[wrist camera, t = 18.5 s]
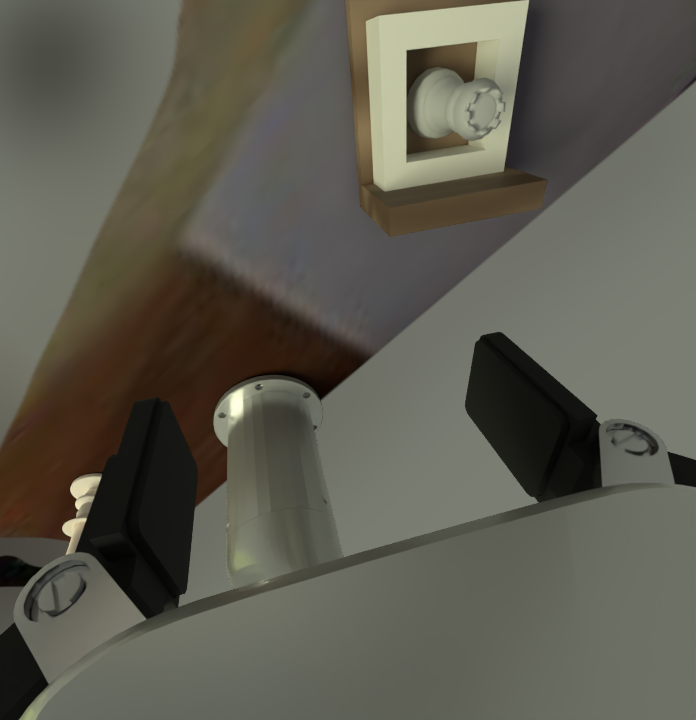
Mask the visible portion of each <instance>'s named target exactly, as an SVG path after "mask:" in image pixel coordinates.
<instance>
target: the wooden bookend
mask: <svg viewBox="0 0 696 720" xmlns="http://www.w3.org/2000/svg"><path fill="white" fill-rule="evenodd" d="M513 1H516V0H345V2H346V16H347V29H348V43H349V57H350V71H351V85H352V98H353V112H354V126H355V140H356V154H357V167H358V181H359V195H360V207H361V208H362V209H363V210H364V211H365V212H366V213H367V214H368V215H369V216H370V217H371V218H372V219H373V220H374V221H375V222H376V223H377V224H378V225H379V226H380V227H381V228H382V229H383V230H384V231H385V232H386V233H387V234H388V235H389V236H390V237H392V236H397V235H402V234H408V233H413V232H418V231H424V230H429V229H434V228H440V227H445V226H450V225H456V224H461V223H466V222H472V221H477V220H482V219H488V218H493V217H498V216H504V215H509V214H514V213H520V212H525V211H530V210H536V209H541V207H542V202H543V198H544V193H545V188H546V184H547V180H546V179H543V178H540V177H537V176H534V175H531V174H528V173H525V172H522V171H518V170H515V169H512V168H509V167H506V166H504V171H502V172H497V173H491V174H485V175H479V176H473V177H467V178H461V179H456V180H450V181H444V182H438V183H432V184H426V185H420V186H415V187H409V188H403V189H397V190H391V191H383V190H382V189H381V188H379V187H378V186H377V185H375V184H374V180H373V159H372V139H371V119H370V98H369V78H368V58H367V38H366V21H368V20H370V19H372V18H375V17H377V16H382V15H391V14H400V13H410V12H419V11H429V10H438V9H447V8H457V7H466V6H475V5H485V4H494V3H504V2H513ZM476 53H477V42H474V43H465V44H457V45H449V46H440V47H432V48H424V49H415V50H407V51H406V102H407V98H408V94H409V90H410V88H411V87H412V85H413V83H414V82H415V80H416V78H417V77H418V76H420V75H421V74H422V73H423V72H425V71H426V70H427V69H431V68H435V67H441V68H446V69H450V70H453V71H455V72H456V73H457V74H458V76H459V77H460V78H461V79H462V80H463V81H464V83H468V82H472V81H473V80H474V75H475V64H476ZM468 141H469V140H466V139H463V138H462V137H461V136H460V135H459V134H458V133H455V132H454V131H452V132H450V133H449V134H448V135H446V136H444V137H440V138H436V139H433V138H426V137H421V136H419V135H418V134H417V133H416V132H415V131H413V130H412V128H411V126H410V124H409V121H408V119H407V111H406V154H412V153H419V152H425V151H431V150H437V149H444V148H450V147H456V146H463V145H468Z"/></svg>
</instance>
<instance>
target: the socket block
mask: <svg viewBox="0 0 696 720" xmlns="http://www.w3.org/2000/svg"><path fill="white" fill-rule="evenodd" d="M528 4H529V0H522V1H513V2H504V3H494V4H485V5H475V6H466V7H457V8H447V9H438V10H429V11H419V12H410V13H400V14H391V15H382V16H377V17H375V18H372V19H370V20H368V21H366V38H367V58H368V78H369V98H370V119H371V139H372V159H373V180H374V184H375V185H377V186H378V187H379V188H381V189H382V190H383V191H391V190H397V189H403V188H409V187H415V186H420V185H426V184H432V183H438V182H444V181H450V180H456V179H461V178H467V177H473V176H479V175H485V174H491V173H497V172H502V171H504V166H505V159H506V152H507V145H508V139H509V132H510V125H511V118H512V112H513V105H514V98H515V92H516V85H517V78H518V71H519V65H520V58H521V51H522V44H523V38H524V31H525V24H526V17H527V11H528ZM474 42H477V53H476V64H475V75H474V80H476V79H480V78H488V79H491V80H493V81H494V82H495V83H496V84H497V85H498V86H499V88H500V90H501V91H502V93H503V95H502V102H506V104H505V112H501V114H500V116H499V120H500V121H501V123H500V124H499V125H498V127H497V128H496V129H492V131H491V132H490V133H489V134H488V135H486V136H485V137H483V138H482V139H479V140H475V141H470V140H469V141H468V145H463V146H456V147H450V148H444V149H437V150H431V151H425V152H419V153H412V154H406V51H407V50H415V49H424V48H432V47H440V46H449V45H457V44H465V43H474Z"/></svg>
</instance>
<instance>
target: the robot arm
mask: <svg viewBox="0 0 696 720" xmlns="http://www.w3.org/2000/svg"><path fill="white" fill-rule="evenodd" d="M465 408H466V411H467V413H468V415H469V416H470V418H471V419H472V420H473V422H474V423H475V424H476V425H477V427H478V428H479V430H480V431H481V432H482V434H483V435H484V436H485V438H486V439H487V440H488V442H489V443H490V444H491V446H492V447H493V448H494V450H495V451H496V452H497V454H498V455H499V457H500V458H501V459H502V461H503V462H504V463H505V465H506V466H507V467H508V469H509V470H510V471H511V473H512V474H513V475H514V477H515V478H516V479H517V481H518V482H519V483H520V485H521V486H522V487H523V489H524V490H525V491H526V493H527V494H528V495H529V496H531V497H535V498H536V500H537V501H538V502H539V503H537V504H533V505H529V506H525V507H522V508H518V509H515V510H511V511H507V512H504V513H500V514H496V515H493V516H489V517H485V518H482V519H478V520H475V521H471V522H467V523H464V524H460V525H457V526H453V527H450V528H446V529H442V530H439V531H435V532H432V533H428V534H424V535H421V536H417V537H414V538H410V539H407V540H403V541H399V542H396V543H392V544H389V545H385V546H382V547H378V548H375V549H371V550H368V551H364V552H361V553H357V554H354V555H350V556H347V557H344V556H343V552H342V548H341V545H340V541H339V536H338V532H337V527H336V523H335V518H334V514H333V509H332V505H331V501H330V497H329V493H328V488H327V483H326V479H325V475H324V471H323V466H322V462H321V458H320V453H319V449H318V444H317V440H316V436H315V434H316V432H317V431H318V429H319V427H320V425H321V423H322V418H323V408H322V404H321V400H320V398H319V396H318V394H317V393H316V392H315V391H314V389H313V388H312V387H310V386H309V385H308V384H306V383H305V382H303V381H301V380H299V379H296V378H293V377H289V376H283V375H264V376H259V377H254V378H251V379H248V380H245V381H243V382H241V383H239V384H237V385H235V386H234V387H232V388H231V389H230V390H228V391H227V392H226V393H225V394H224V395H223V396H222V398H221V399H220V400H219V402H218V404H217V406H216V408H215V412H214V423H213V424H214V430H215V433H216V435H217V437H218V438H219V440H220V441H221V442H222V443H223V444H224V445H225V446H226V447H228V460H227V531H226V533H227V536H226V567H227V573H228V577H229V580H230V583H231V586H232V588H233V590H230V591H227V592H223V593H220V594H217V595H214V596H210V597H207V598H204V599H200V600H197V601H194V602H192V603H189V604H186V605H183V606H181V607H178V603H179V595H181V594H185V592H186V590H187V583H188V572H189V561H190V552H191V541H192V531H193V521H194V510H195V500H196V489H197V479H198V470H197V465H196V462H195V460H194V458H193V456H192V453H191V451H190V449H189V447H188V444H187V442H186V440H185V438H184V435H183V433H182V431H181V429H180V427H179V424H178V422H177V420H176V418H175V415H174V413H173V411H172V409H171V406H170V404H169V402H168V401H163V402H162V401H161V400H160V399H159V398H151V399H146V400H141V401H136V402H135V403H134V405H133V408H132V411H131V414H130V417H129V420H128V423H127V426H126V429H125V432H124V435H123V438H122V441H121V444H120V447H119V450H118V453H117V454H116V455H112V456H111V457H110V458H109V459H108V461H107V463H106V465H105V468H104V471H103V474H102V477H101V479H100V482H99V485H98V488H97V491H96V494H95V496H94V499H93V502H92V505H91V508H90V511H89V514H88V516H87V519H86V522H85V525H84V528H83V531H82V533H81V536H80V539H79V542H78V545H77V548H76V550H75V553H72V554H67V555H65V556H63V557H60V558H58V559H56V560H54V561H52V562H51V563H49V564H48V565H46V566H45V567H43V568H42V569H41V570H40V571H39V572H38V573H37V574H36V575H34V576H33V577H32V578H31V579H30V581H29V582H28V583H27V585H26V586H25V587H24V588H23V590H22V591H21V593H20V595H19V597H18V599H17V601H16V604H15V609H14V619H15V622H14V623H13V624H12V625H11V626H10V627H9V628H8V629H7V630H6V631H5V632H3V633H2V634H1V635H0V720H696V460H694V459H691V458H687V457H684V456H681V455H677V454H674V453H670V452H667V449H666V446H665V444H664V442H663V440H662V439H661V438H660V437H659V436H658V435H657V434H656V433H654V432H653V431H652V430H650V429H649V428H647V427H645V426H643V425H641V424H638V423H635V422H632V421H629V420H623V419H611V420H608V421H605V422H604V423H602V424H600V423H599V422H598V421H597V420H596V417H597V415H596V414H595V413H594V412H593V411H592V410H591V409H589V408H588V407H587V406H586V405H585V404H584V403H582V402H581V401H580V400H579V399H578V398H577V397H575V396H574V395H573V394H572V393H571V392H570V391H569V390H568V389H566V388H565V387H564V386H563V385H562V384H560V382H558V381H557V380H556V379H555V378H554V377H553V376H551V375H550V374H549V373H548V372H547V371H546V370H544V369H543V368H542V367H541V366H540V365H539V364H538V363H536V362H535V361H534V360H533V359H532V358H531V357H530V356H528V355H527V354H526V353H525V352H524V351H522V350H521V349H520V348H519V347H518V346H517V345H515V343H513V342H512V341H511V340H510V339H509V338H508V337H506V336H505V335H504V334H503V333H501V332H496V333H491V334H486V335H482V336H481V337H480V339H479V340H478V341H477V342H476V343H475V348H474V354H473V360H472V366H471V372H470V378H469V384H468V389H467V395H466V401H465Z"/></svg>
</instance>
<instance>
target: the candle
mask: <svg viewBox="0 0 696 720" xmlns="http://www.w3.org/2000/svg"><path fill="white" fill-rule="evenodd" d="M101 477H102V474H101V473H93V474H87V475H83V476H81V477H79V478H77V479H76V480H75V481H74V482H73V483H72V485H71V488H70V490H71V493H72V495H73V496H74V497H75V498H76V499H77V500H76V503H75V506H76V508H77V509H78V512H77V514H76V518H75V519H72V520H69V521H68V522H66V523H65V524H64V525H63V532H64V533H65V534H66V535H68V536H70V537H72V538H71V541H70V544H69V547H68V550H67V553H66V555H67V554H72V553H75V550H76V548H77V545H78V542H79V539H80V536H81V533H82V531H83V528H84V525H85V522H86V519H87V516H88V514H89V511H90V508H91V505H92V502H93V499H94V496H95V494H96V491H97V488H98V485H99V482H100V479H101Z"/></svg>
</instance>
